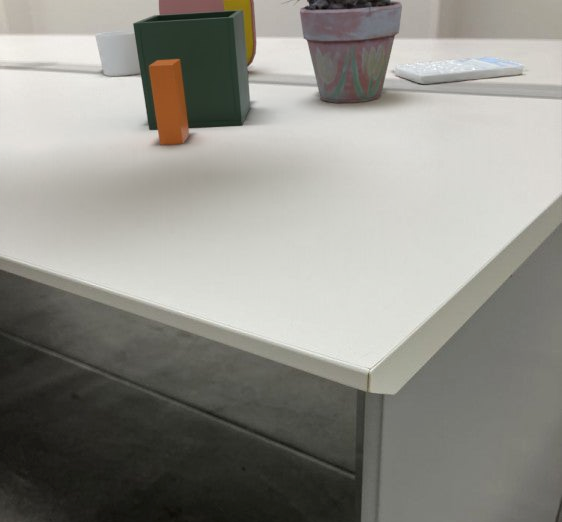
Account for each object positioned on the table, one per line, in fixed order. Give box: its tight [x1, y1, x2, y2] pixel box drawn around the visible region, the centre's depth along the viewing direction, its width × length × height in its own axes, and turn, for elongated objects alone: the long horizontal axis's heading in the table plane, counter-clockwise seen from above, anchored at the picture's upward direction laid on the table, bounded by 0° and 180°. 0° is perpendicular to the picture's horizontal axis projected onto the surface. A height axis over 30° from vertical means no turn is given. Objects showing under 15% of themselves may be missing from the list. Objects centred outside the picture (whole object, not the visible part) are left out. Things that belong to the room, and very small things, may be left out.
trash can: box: [132, 10, 251, 131], centre depth 100 cm, size 14×14×14 cm
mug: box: [94, 29, 141, 77], centre depth 151 cm, size 13×10×8 cm
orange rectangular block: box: [149, 59, 190, 146], centre depth 87 cm, size 3×5×10 cm, turn 177°
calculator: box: [394, 56, 525, 85], centre depth 124 cm, size 13×20×2 cm, turn 104°
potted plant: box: [281, 0, 403, 104], centre depth 105 cm, size 18×20×25 cm
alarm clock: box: [158, 0, 257, 68], centre depth 139 cm, size 18×11×19 cm, turn 49°
